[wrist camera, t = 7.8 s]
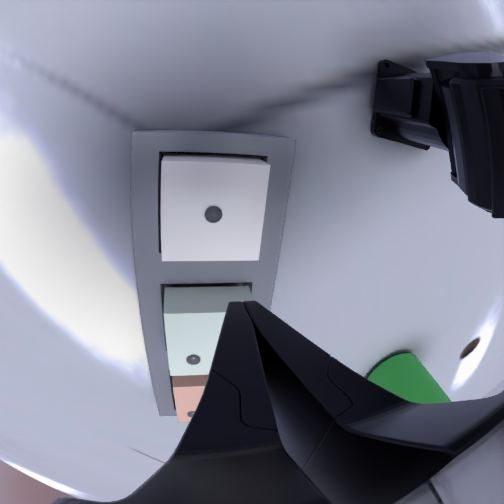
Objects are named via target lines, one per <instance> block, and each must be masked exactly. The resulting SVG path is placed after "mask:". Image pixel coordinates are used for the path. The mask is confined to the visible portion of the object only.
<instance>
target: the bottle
mask: <svg viewBox="0 0 504 504" xmlns="http://www.w3.org/2000/svg"><path fill="white" fill-rule="evenodd" d="M368 380H370V381H372V382H373V383H375V384H377V385H379V386H381V387H383V388H384V389H386V390H388V391H390V392H392V393H394V394H396V395H397V396H399V397H401V398H403V399H406V400H408V401H411V402H415V403H422V404H428V403H444V402H451V400H450V399H449V398H448V396H447V395H446V394H445V392H444V391H443V390H442V388H441V387H440V386H439V385H438V383H437V382H436V381H435V380H434V378H433V377H432V376H431V375H430V373H429V372H428V371H427V370H426V368H425V367H424V366H423V365H422V363H421V362H420V361H419V360H418V358H417V357H416V356H415V355H413V354H412V353H404V354H397V355H395V356H392V357H390V358H388V359H387V360H385V361H383V362H382V363H381V364H380V365H378V366H377V367H376V368H375V369H374V370H373V371H372V372H371V374H370V375H369V377H368Z"/></svg>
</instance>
